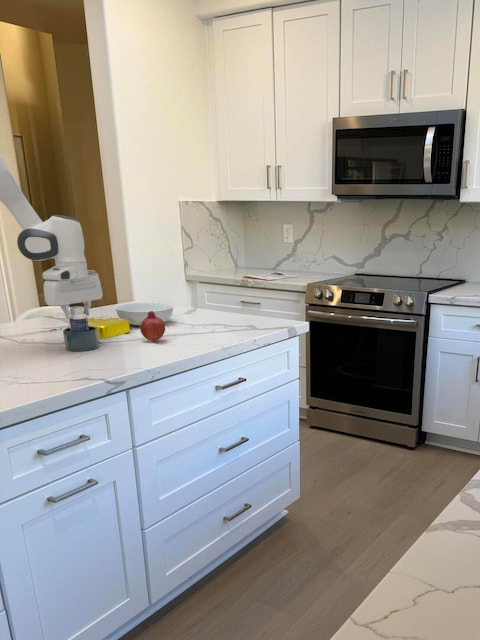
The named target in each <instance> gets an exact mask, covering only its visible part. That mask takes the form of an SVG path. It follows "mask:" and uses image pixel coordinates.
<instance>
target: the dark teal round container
mask: <svg viewBox="0 0 480 640" xmlns="http://www.w3.org/2000/svg"><path fill="white" fill-rule="evenodd" d="M88 327H89V331H83V332H71V330H70V327H66V328H64V329H62V332H63V339H64V345H65V346H64V347H65V350H66V351H68V352H88V351H94V350H97V349H99V348H100V341H99V340H100V339H99V338H98V331H97V328H96V327H91V326H88Z"/></svg>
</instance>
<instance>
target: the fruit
mask: <svg viewBox="0 0 480 640" xmlns="http://www.w3.org/2000/svg"><path fill="white" fill-rule="evenodd" d="M139 327H140V333H141V335H142V337H143V338H145V339H146V340H148V341H152V342H155V341H158V340H161V338H163V336H164V334H165V333H166V324H165V322H163V321H162V319H160V318H159V317H156V316H155V314H154V312H153V311H150V312H148V316H147V317H146V318H145V319H144V320H143V321H142V323H141V326H139Z"/></svg>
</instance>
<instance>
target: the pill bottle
mask: <svg viewBox="0 0 480 640" xmlns="http://www.w3.org/2000/svg"><path fill="white" fill-rule="evenodd" d="M69 311H70V312H71V313H73V319H68V321H69V328H70V330H71V332H83V331H89V327H88V319H89V318H88V316H87V315H86V314H84V306H80V305H78V306H77V305H75V306H69Z"/></svg>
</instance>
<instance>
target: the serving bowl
mask: <svg viewBox="0 0 480 640" xmlns="http://www.w3.org/2000/svg"><path fill="white" fill-rule="evenodd" d="M115 311H116V315H117V316H118V318H120V319H128V320H129V323H130V326H131V325H132V326H136V327H141V323H142V321H143V320H144V319H145V318H146V317H147V316H148V312H150V311H153V312H154V314H155V316H156V317H159V318H160V319H162V321H163V322H164V323H166V322H168V321H169V320H170V318H171V317H172V315H173V311H174V306H173V305H172V304H169V303H163V302H155V301H154V302H153V301H152V302H150V301H147V302H145V301H143V302H131V303H124V304H119V305H117V306H115Z"/></svg>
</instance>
